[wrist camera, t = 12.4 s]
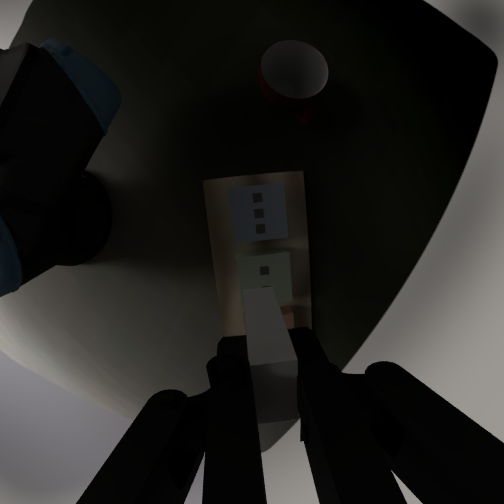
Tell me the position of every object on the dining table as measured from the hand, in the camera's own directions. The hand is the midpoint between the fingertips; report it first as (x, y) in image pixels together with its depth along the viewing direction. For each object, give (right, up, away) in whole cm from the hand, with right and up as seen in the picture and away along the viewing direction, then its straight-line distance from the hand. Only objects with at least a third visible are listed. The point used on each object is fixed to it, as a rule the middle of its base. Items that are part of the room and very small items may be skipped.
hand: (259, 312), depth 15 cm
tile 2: (+1, 0, +27) cm, 28 cm away
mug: (+5, +25, +24) cm, 35 cm away
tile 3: (0, +9, +25) cm, 27 cm away
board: (+1, 0, +29) cm, 29 cm away
